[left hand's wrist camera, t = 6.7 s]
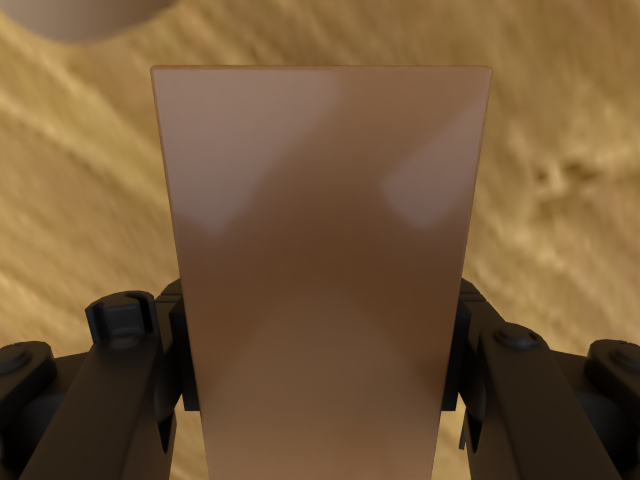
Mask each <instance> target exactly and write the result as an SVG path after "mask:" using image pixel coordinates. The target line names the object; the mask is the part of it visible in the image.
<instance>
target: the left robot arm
mask: <svg viewBox="0 0 640 480" xmlns="http://www.w3.org/2000/svg"><path fill="white" fill-rule="evenodd" d="M85 313H86V316H87V320H88V324H89V328H90V332H91V335H92V339H93V343H94V344H93V345H92V347H91V349H90V351H89V352H85V353H80V354H75V355H70V356H64V357H59V358H54V356H53V353H52V350H51V347H50V346H49V345H48V344H47V343H45V342H40V341H29V342H19V343H14V345H12V344H10V345H7V346H4V347H2V348H1V349H0V480H169V475H170V468H171V461H172V454H173V447H174V440H175V433H176V426H177V422H176V415H175V410H174V408H175V406H176V404H177V402H178V400H179V398H180V396H181V394H182V397H183V403H184V409H185V411H200V409H199V402H198V395H197V388H196V382H195V375H194V368H193V361H192V354H191V347H190V341H189V334H188V327H187V320H186V313H185V306H184V300H183V293H182V286H181V279H180V278H179V279H178V280H176V281H174V282H172V283H171V284H169V285H168V286H167V287H166V288H165V289H164V290H163V291H162V293H161V295H159V296H158V297H157V298H156V300H154V296H153V295H152V294H150V293H149V292H145V291H140V290H139V291H124V292H119V293H114V294H111V295H108V296H105V297H102V298H100V299H99V300H97V301H95V302H93V303H91V304H90V305H89V306H88V307H87V308H86V309H85ZM458 392H459V393H460V395H461V397H462V399H463V401H464V404H465V406H466V410H465V415H464V421H463V426H462V432H461V437H460V443H459V449H462V450H464V446H465V442H466V447H467V454H468V461H469V468H470V475H471V480H640V346H638V345H636V344H633V343H630V342H629V343H627V342H625V341H621V340H609V339H604V340H596V341H595V342H593V343H592V344H591V345H590V348H589V351H588V354H587V357H585V356H579V355H574V354H569V353H563V352H558V351H554V350H550V348H549V347H548V345H547V343H546V342H545V341H544V340H543V338H542V337H541V336H540V335H538V334H537V333H535V332H534V331H532V330H530V329H528V328H526V327H523V326H521V325H518V324H514V323H509V322H505V320H504V319H503V318H502V317H501V316H500V315H499V314H498V312H497V311H496V310H495V309H494V308H493V307H492V306H491V305H490V303H489V302H486V299H485V298H484V297H483V295H482V294H480V292H479V291H478V290H477V289H476V287H475V286H474V285H473V284H472V283H470V282H468V281H467V280H465V279H463V278H461V283H460V290H459V296H458V303H457V310H456V316H455V323H454V330H453V336H452V343H451V349H450V356H449V363H448V369H447V376H446V383H445V389H444V396H443V402H442V409H441V411H455V410H456V404H457V398H458Z"/></svg>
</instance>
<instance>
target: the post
mask: <svg viewBox="0 0 640 480" xmlns="http://www.w3.org/2000/svg"><path fill="white" fill-rule="evenodd" d="M150 74H151V81H152V88H153V94H154V101H155V108H156V115H157V122H158V129H159V135H160V142H161V149H162V156H163V163H164V170H165V176H166V183H167V190H168V197H169V204H170V211H171V218H172V224H173V231H174V238H175V245H176V252H177V259H178V265H179V272H180V279H181V286H182V293H183V300H184V306H185V313H186V320H187V327H188V334H189V341H190V347H191V354H192V361H193V368H194V375H195V382H196V388H197V395H198V402H199V409H200V416H201V423H202V430H203V436H204V443H205V450H206V457H207V464H208V471H209V477H210V480H431V475H432V469H433V462H434V455H435V449H436V442H437V436H438V429H439V422H440V416H441V409H442V402H443V396H444V389H445V383H446V376H447V369H448V363H449V356H450V349H451V343H452V336H453V330H454V323H455V316H456V310H457V303H458V296H459V290H460V283H461V277H462V270H463V263H464V257H465V250H466V243H467V237H468V230H469V224H470V217H471V210H472V204H473V197H474V190H475V184H476V177H477V171H478V164H479V157H480V151H481V144H482V137H483V131H484V124H485V118H486V111H487V104H488V98H489V91H490V84H491V78H492V68H491V67H489V66H278V65H155V66H152V67H151V68H150Z"/></svg>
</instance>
